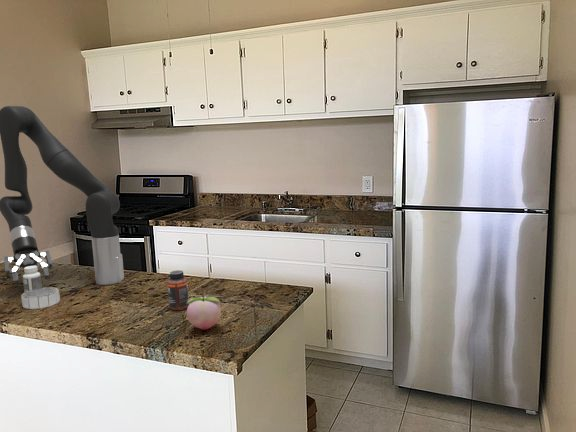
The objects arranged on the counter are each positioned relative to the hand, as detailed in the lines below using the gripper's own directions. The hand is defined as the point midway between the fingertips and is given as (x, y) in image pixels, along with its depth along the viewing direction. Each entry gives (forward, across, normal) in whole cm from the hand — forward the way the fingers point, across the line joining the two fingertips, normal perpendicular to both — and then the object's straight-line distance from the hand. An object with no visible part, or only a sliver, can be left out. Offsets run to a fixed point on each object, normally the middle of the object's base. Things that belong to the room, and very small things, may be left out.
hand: (32, 280), depth 156 cm
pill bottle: (+3, 0, +4) cm, 5 cm away
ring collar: (+11, +1, -4) cm, 11 cm away
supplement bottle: (+34, +34, -27) cm, 55 cm away
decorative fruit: (+48, +33, -41) cm, 71 cm away
